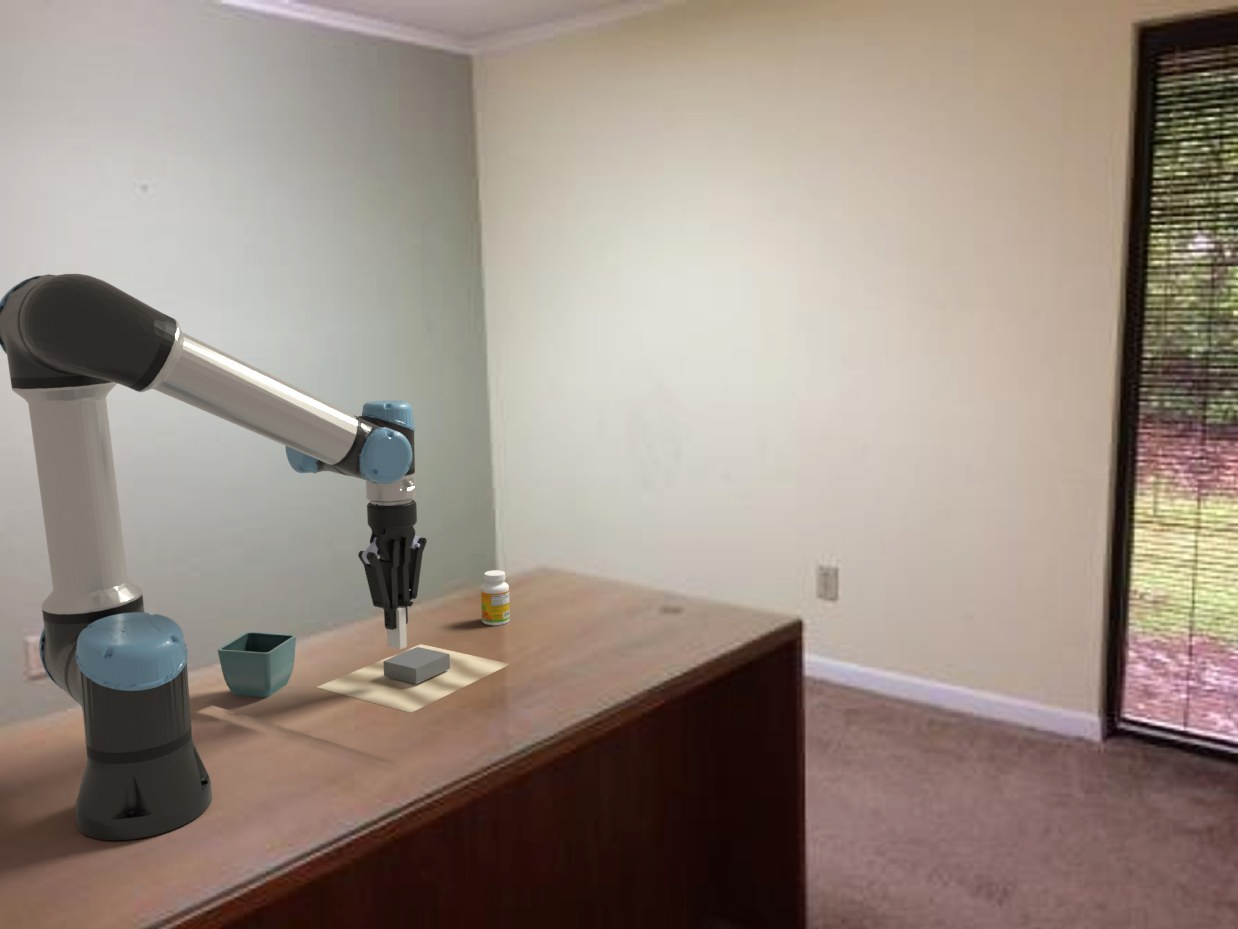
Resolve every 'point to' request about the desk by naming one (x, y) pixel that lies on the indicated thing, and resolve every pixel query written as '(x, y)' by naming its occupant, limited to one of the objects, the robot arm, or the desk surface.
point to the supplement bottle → (495, 598)
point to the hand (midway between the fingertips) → (397, 646)
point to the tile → (416, 665)
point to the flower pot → (258, 663)
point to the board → (409, 695)
